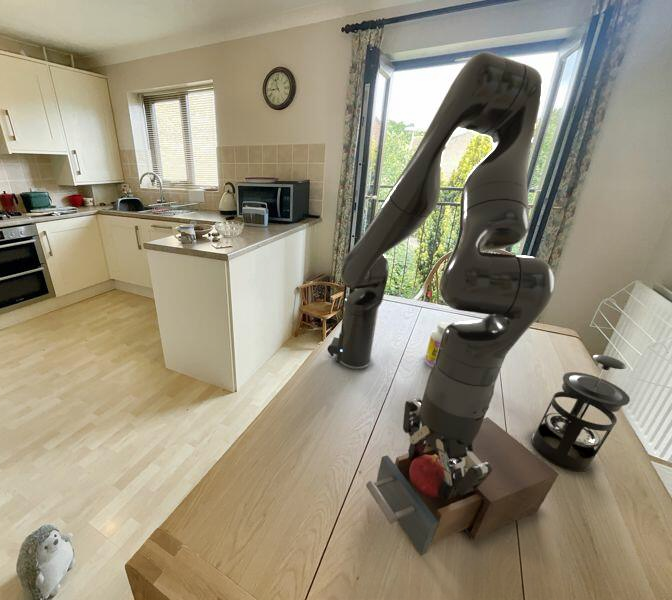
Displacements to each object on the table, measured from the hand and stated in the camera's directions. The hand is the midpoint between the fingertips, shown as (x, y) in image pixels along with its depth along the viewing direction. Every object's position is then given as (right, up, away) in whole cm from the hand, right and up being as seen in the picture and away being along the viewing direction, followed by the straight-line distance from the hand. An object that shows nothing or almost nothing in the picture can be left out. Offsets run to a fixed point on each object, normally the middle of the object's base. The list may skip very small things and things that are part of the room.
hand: (429, 476), depth 50 cm
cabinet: (+12, -7, +7) cm, 15 cm away
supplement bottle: (+24, +9, +42) cm, 49 cm away
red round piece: (0, -3, +2) cm, 4 cm away
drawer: (0, -7, +3) cm, 8 cm away
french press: (+35, -3, +15) cm, 38 cm away
